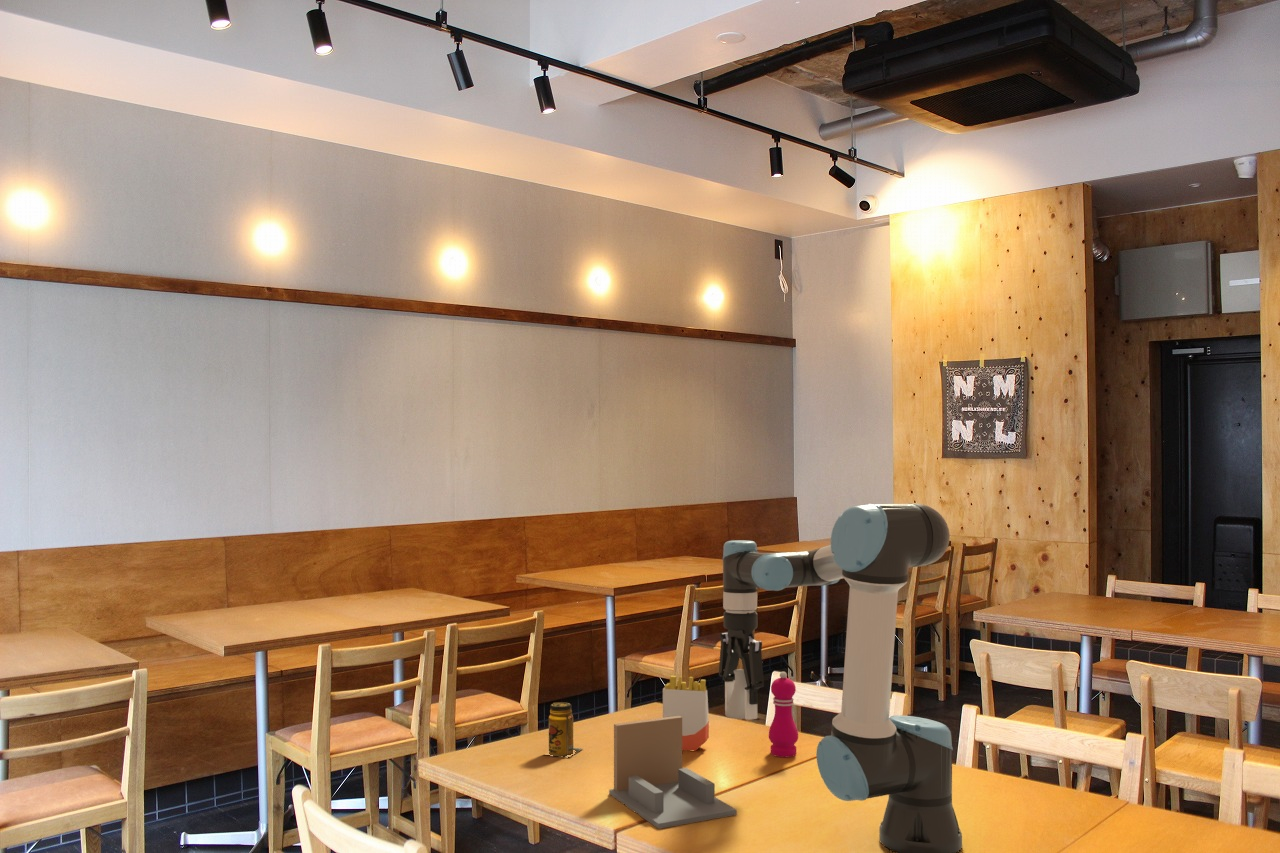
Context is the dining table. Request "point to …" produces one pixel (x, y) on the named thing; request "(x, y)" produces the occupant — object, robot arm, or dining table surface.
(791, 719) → the pepper mill
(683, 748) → the french fries container
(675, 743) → the shaker holder
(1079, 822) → the dining table surface
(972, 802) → the dining table surface
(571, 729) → the condiment
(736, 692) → the flask
